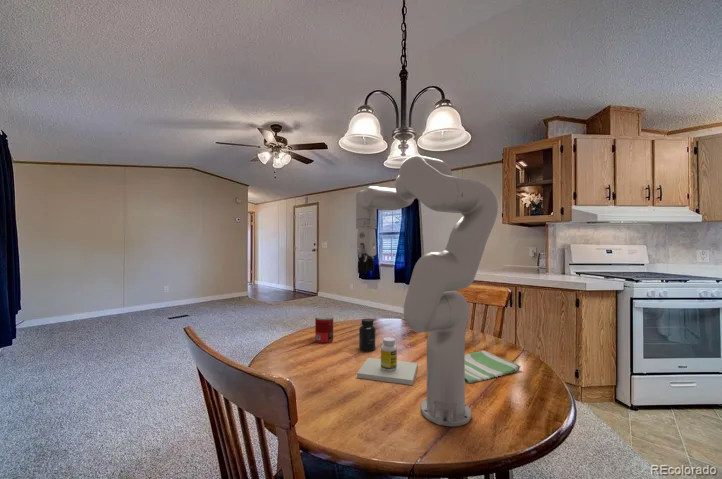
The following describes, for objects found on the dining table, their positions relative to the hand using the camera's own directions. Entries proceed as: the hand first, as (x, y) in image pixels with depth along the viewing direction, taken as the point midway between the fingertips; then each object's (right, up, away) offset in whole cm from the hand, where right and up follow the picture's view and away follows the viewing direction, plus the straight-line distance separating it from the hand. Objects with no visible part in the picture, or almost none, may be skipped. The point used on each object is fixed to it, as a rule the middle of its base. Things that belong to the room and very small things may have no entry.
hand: (366, 272), depth 110 cm
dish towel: (+39, -34, -3) cm, 52 cm away
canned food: (-18, -34, +26) cm, 46 cm away
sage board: (+8, -33, -7) cm, 35 cm away
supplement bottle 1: (+1, -34, +16) cm, 37 cm away
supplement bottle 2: (+8, -32, -7) cm, 34 cm away
